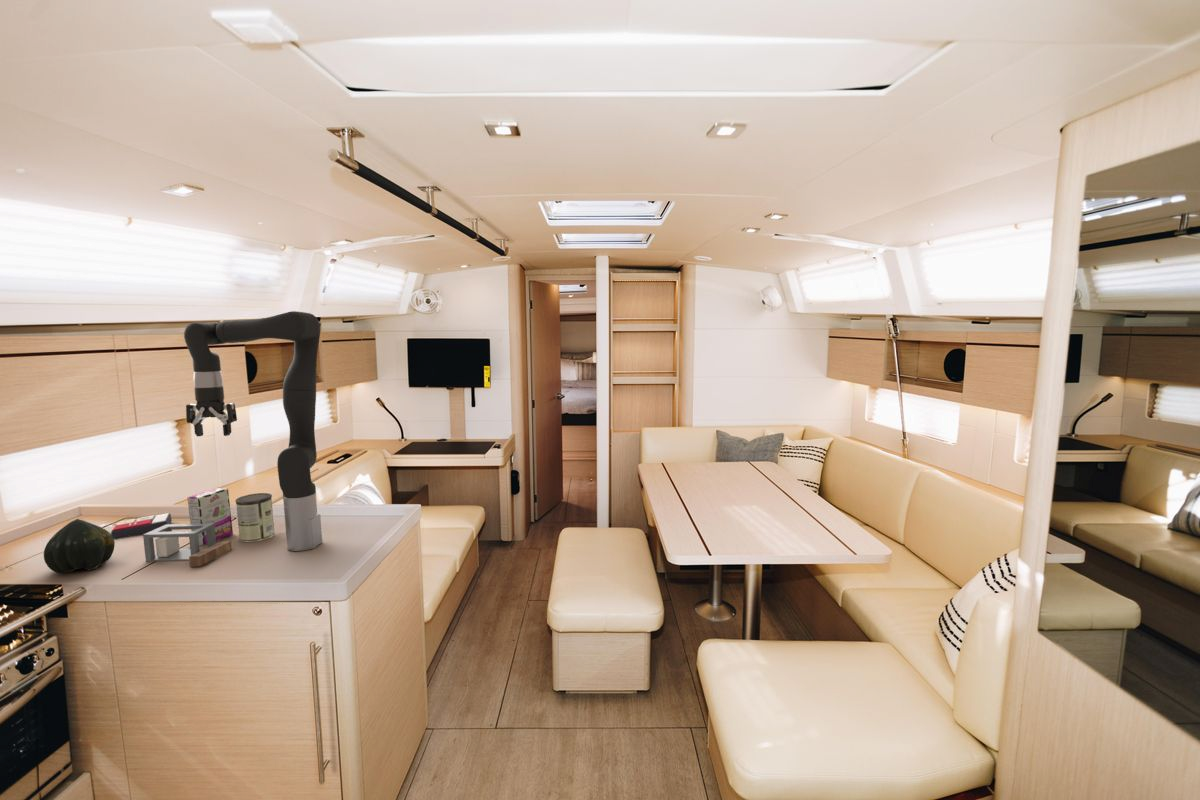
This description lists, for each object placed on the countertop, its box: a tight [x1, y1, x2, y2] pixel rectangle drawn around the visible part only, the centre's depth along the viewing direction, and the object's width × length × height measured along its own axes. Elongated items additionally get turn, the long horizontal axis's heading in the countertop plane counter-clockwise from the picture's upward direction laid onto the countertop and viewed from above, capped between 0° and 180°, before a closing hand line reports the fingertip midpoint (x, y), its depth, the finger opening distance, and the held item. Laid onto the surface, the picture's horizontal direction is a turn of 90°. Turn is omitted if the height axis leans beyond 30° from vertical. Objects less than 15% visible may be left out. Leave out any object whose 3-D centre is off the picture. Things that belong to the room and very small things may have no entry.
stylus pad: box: [201, 558, 218, 567], centre depth 161 cm, size 4×5×1 cm
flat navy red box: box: [110, 512, 173, 540], centre depth 191 cm, size 11×4×15 cm
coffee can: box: [235, 492, 276, 543], centre depth 182 cm, size 10×10×14 cm
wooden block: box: [188, 540, 232, 567], centre depth 164 cm, size 3×3×14 cm
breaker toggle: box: [154, 537, 181, 557], centre depth 166 cm, size 3×5×7 cm, turn 2°
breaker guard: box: [142, 523, 217, 563], centre depth 166 cm, size 15×9×9 cm, turn 92°
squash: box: [43, 518, 116, 574], centre depth 159 cm, size 14×15×15 cm
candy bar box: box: [187, 487, 234, 546], centre depth 180 cm, size 11×5×16 cm, turn 168°
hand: (213, 435), depth 173 cm, fingers open, 8 cm apart
